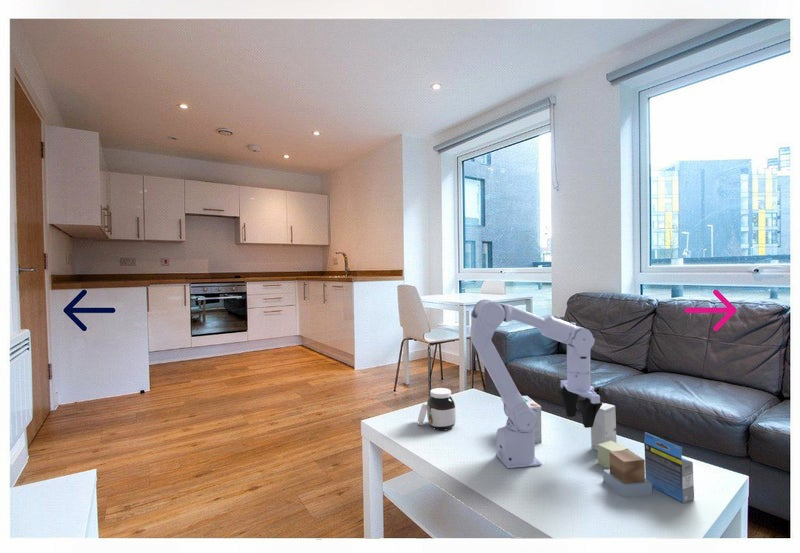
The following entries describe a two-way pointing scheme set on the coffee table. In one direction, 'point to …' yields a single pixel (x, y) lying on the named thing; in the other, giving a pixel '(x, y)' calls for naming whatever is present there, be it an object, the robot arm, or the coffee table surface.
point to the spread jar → (439, 409)
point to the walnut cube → (627, 466)
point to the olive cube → (607, 452)
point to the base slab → (627, 486)
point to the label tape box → (668, 469)
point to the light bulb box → (537, 410)
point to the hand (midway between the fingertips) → (579, 421)
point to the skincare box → (604, 426)
